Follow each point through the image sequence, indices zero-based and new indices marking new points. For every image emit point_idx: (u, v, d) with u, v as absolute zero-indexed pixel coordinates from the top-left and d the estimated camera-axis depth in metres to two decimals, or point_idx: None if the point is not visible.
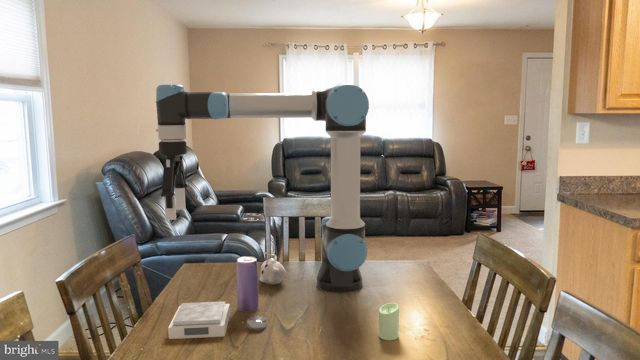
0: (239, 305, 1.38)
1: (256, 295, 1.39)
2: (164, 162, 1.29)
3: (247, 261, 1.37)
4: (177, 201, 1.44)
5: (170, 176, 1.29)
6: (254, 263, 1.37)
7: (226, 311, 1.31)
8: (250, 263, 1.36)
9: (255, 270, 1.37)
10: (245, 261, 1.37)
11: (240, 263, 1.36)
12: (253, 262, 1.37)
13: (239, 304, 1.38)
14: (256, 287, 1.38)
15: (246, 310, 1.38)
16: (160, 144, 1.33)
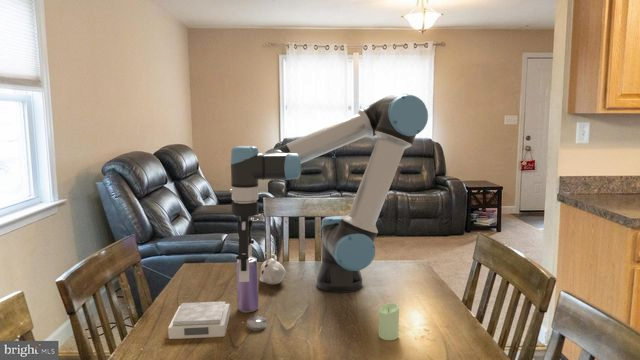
0: (239, 305, 1.38)
1: (256, 295, 1.39)
2: (240, 225, 1.30)
3: None
4: None
5: (246, 239, 1.29)
6: (254, 263, 1.37)
7: (226, 311, 1.31)
8: (250, 263, 1.36)
9: (255, 270, 1.37)
10: None
11: None
12: (253, 262, 1.37)
13: (239, 304, 1.38)
14: (256, 287, 1.38)
15: (246, 310, 1.38)
16: (234, 205, 1.33)
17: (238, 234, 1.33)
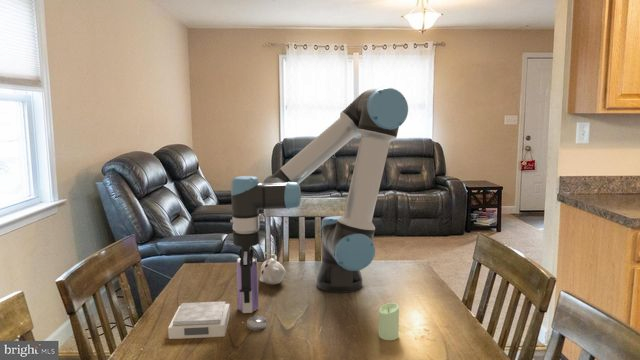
0: (239, 305, 1.38)
1: (256, 295, 1.39)
2: (241, 261, 1.32)
3: None
4: None
5: (248, 274, 1.33)
6: (254, 263, 1.37)
7: (226, 311, 1.31)
8: None
9: (255, 270, 1.37)
10: None
11: None
12: (253, 262, 1.37)
13: (239, 304, 1.38)
14: (256, 287, 1.38)
15: None
16: (235, 236, 1.35)
17: None
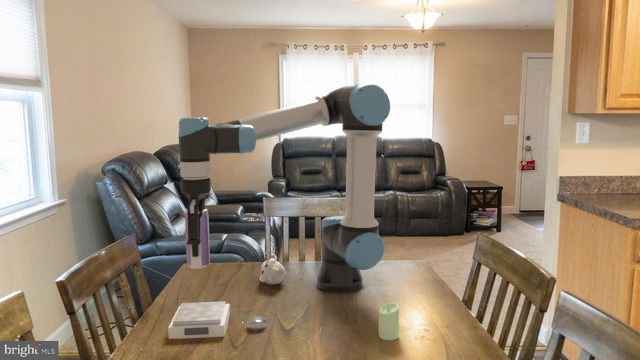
0: (187, 260, 1.25)
1: (206, 249, 1.26)
2: (188, 209, 1.19)
3: None
4: None
5: (195, 224, 1.20)
6: (204, 213, 1.24)
7: (226, 311, 1.31)
8: (199, 213, 1.23)
9: (205, 221, 1.24)
10: None
11: None
12: (203, 212, 1.24)
13: (187, 259, 1.25)
14: (206, 240, 1.25)
15: None
16: (182, 182, 1.22)
17: None
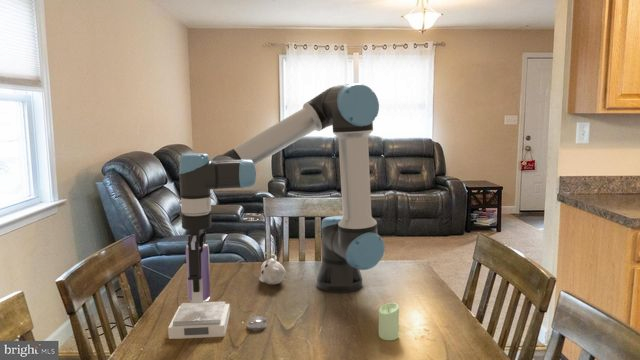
0: (189, 294, 1.26)
1: (207, 284, 1.27)
2: (189, 245, 1.20)
3: None
4: None
5: (196, 260, 1.21)
6: (205, 248, 1.25)
7: (226, 311, 1.31)
8: (200, 248, 1.24)
9: (206, 256, 1.25)
10: None
11: None
12: (203, 247, 1.25)
13: (189, 293, 1.26)
14: (207, 275, 1.26)
15: None
16: (183, 218, 1.23)
17: None
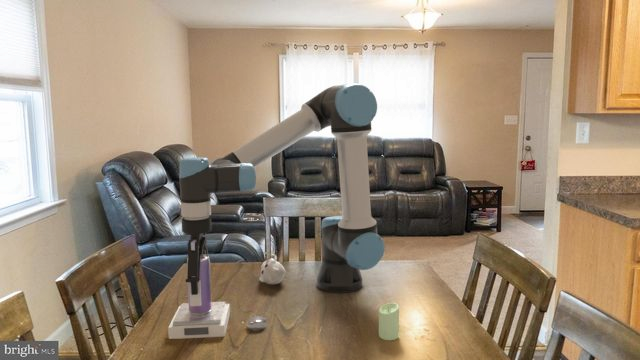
0: (190, 307, 1.27)
1: (208, 296, 1.27)
2: (189, 245, 1.19)
3: None
4: None
5: (195, 261, 1.19)
6: (206, 262, 1.25)
7: (226, 311, 1.31)
8: (201, 262, 1.24)
9: (207, 269, 1.26)
10: None
11: None
12: (204, 261, 1.25)
13: (189, 306, 1.27)
14: (208, 288, 1.27)
15: (197, 313, 1.26)
16: (183, 222, 1.23)
17: None
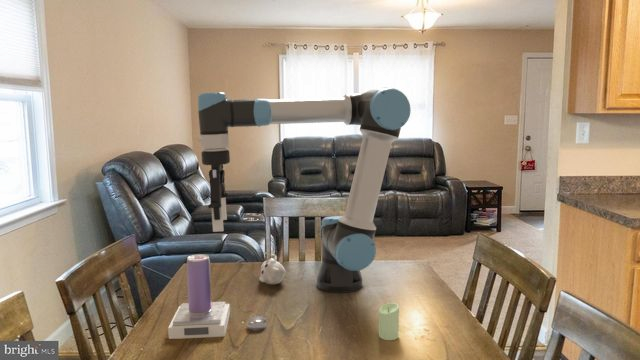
0: (190, 307, 1.27)
1: (208, 296, 1.27)
2: (210, 172, 1.26)
3: (198, 259, 1.25)
4: None
5: (217, 187, 1.25)
6: (205, 261, 1.25)
7: (226, 311, 1.31)
8: (201, 261, 1.25)
9: (207, 269, 1.26)
10: (196, 259, 1.25)
11: (190, 261, 1.25)
12: (204, 260, 1.25)
13: (189, 306, 1.27)
14: (208, 287, 1.27)
15: (197, 313, 1.26)
16: (204, 154, 1.29)
17: None
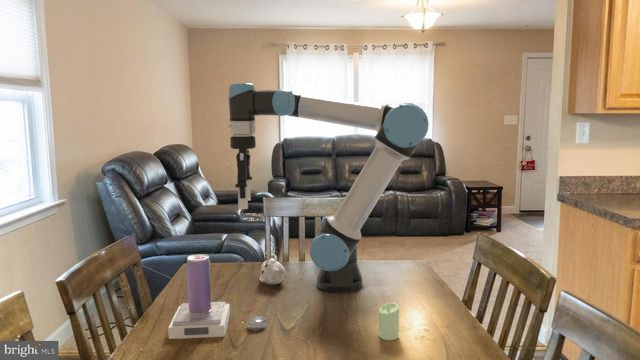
0: (189, 307, 1.27)
1: (208, 296, 1.27)
2: (238, 155, 1.39)
3: (198, 259, 1.25)
4: None
5: (244, 168, 1.39)
6: (205, 261, 1.25)
7: (226, 311, 1.31)
8: (201, 261, 1.25)
9: (207, 269, 1.26)
10: (195, 259, 1.25)
11: (190, 261, 1.25)
12: (204, 260, 1.25)
13: (189, 306, 1.27)
14: (208, 287, 1.27)
15: (197, 313, 1.26)
16: (232, 139, 1.43)
17: (237, 165, 1.42)
